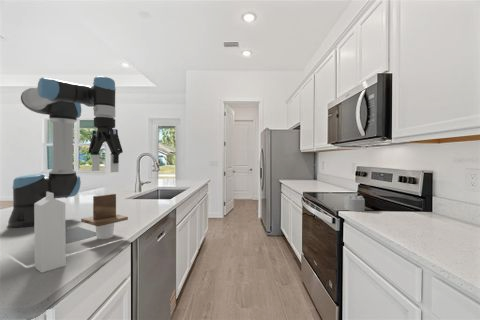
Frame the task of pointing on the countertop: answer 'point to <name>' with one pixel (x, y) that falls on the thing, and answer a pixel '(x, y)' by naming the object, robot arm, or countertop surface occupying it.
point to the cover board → (104, 221)
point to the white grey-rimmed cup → (105, 231)
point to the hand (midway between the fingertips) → (104, 171)
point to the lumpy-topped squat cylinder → (355, 203)
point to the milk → (49, 233)
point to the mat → (78, 234)
